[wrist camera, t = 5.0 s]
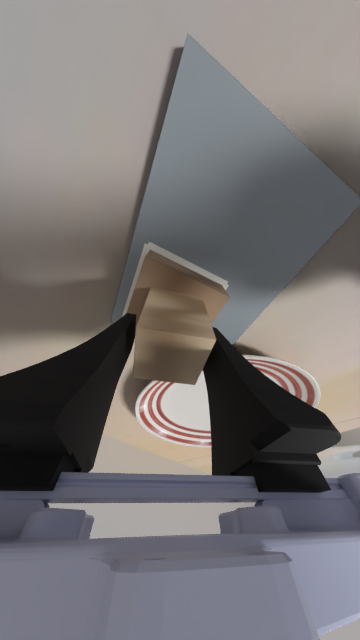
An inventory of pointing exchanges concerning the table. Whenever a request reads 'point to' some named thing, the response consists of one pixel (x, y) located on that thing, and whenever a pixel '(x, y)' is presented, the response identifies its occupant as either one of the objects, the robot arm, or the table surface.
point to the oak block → (172, 338)
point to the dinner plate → (193, 408)
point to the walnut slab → (175, 285)
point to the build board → (232, 195)
